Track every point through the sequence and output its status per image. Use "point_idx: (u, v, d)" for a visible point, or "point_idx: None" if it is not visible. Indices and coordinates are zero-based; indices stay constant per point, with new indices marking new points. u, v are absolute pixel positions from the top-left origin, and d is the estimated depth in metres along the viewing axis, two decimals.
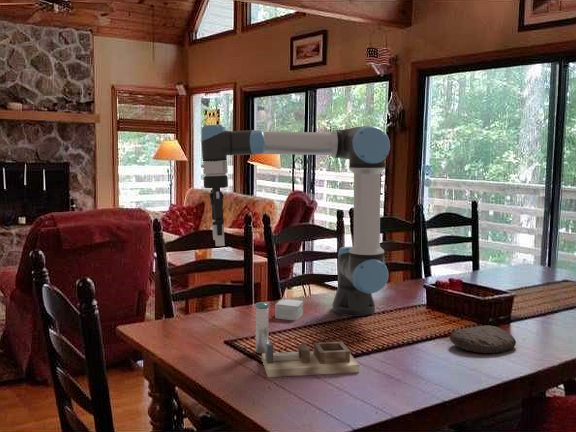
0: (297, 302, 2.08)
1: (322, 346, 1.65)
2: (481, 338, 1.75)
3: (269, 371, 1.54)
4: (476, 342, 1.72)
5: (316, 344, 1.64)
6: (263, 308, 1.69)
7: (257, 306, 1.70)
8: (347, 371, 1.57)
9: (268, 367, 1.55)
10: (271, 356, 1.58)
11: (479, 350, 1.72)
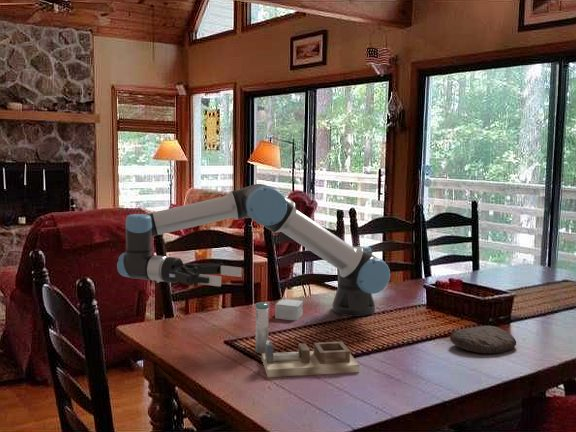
0: (297, 302, 2.08)
1: (322, 346, 1.65)
2: (481, 338, 1.75)
3: (269, 371, 1.54)
4: (476, 342, 1.72)
5: (316, 344, 1.64)
6: (263, 308, 1.69)
7: (257, 306, 1.70)
8: (347, 371, 1.57)
9: (268, 367, 1.55)
10: (271, 356, 1.58)
11: (479, 350, 1.72)
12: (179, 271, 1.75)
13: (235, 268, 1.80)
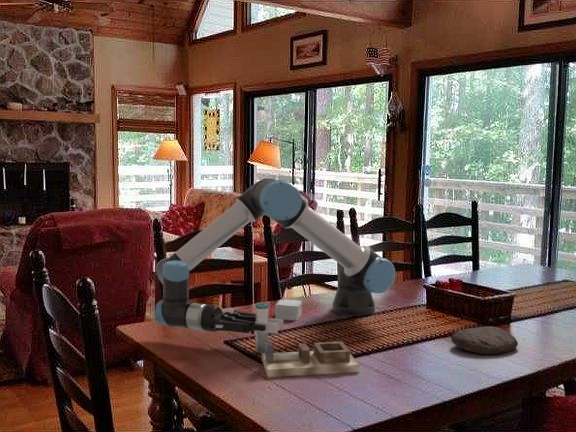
0: (296, 302, 2.08)
1: (322, 346, 1.65)
2: (482, 339, 1.74)
3: (269, 371, 1.54)
4: (477, 343, 1.72)
5: (316, 344, 1.64)
6: (263, 308, 1.69)
7: (257, 306, 1.70)
8: (347, 371, 1.57)
9: (268, 367, 1.55)
10: (271, 356, 1.58)
11: (480, 351, 1.71)
12: (221, 320, 1.72)
13: (276, 320, 1.72)
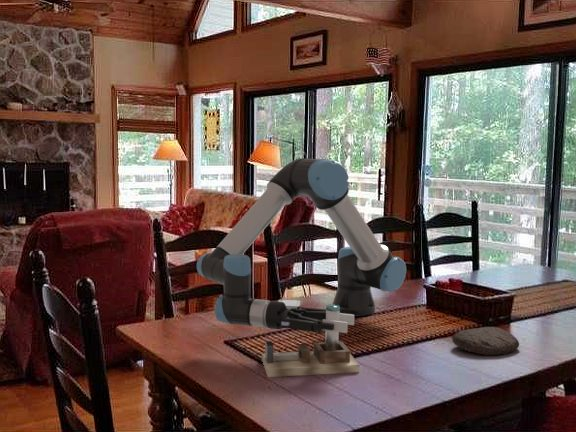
0: (296, 302, 2.08)
1: (322, 346, 1.65)
2: (484, 339, 1.73)
3: (269, 371, 1.54)
4: (478, 343, 1.71)
5: (316, 344, 1.64)
6: (335, 310, 1.60)
7: (328, 308, 1.60)
8: (347, 371, 1.57)
9: (268, 367, 1.55)
10: (271, 356, 1.58)
11: (481, 352, 1.70)
12: (288, 317, 1.62)
13: (347, 315, 1.63)
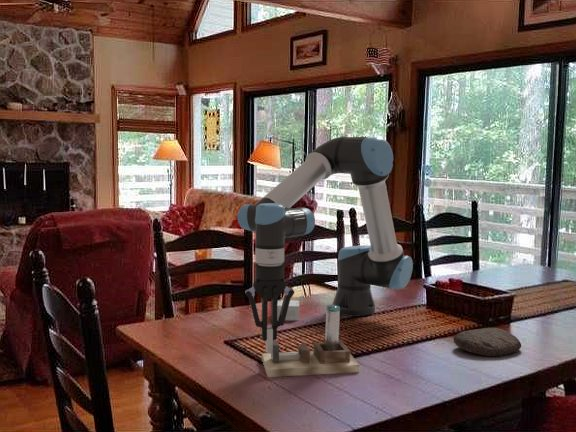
0: (295, 302, 2.07)
1: (322, 346, 1.65)
2: (485, 340, 1.73)
3: (269, 371, 1.54)
4: (480, 344, 1.71)
5: (316, 344, 1.64)
6: (334, 311, 1.60)
7: (328, 308, 1.60)
8: (347, 371, 1.57)
9: (268, 367, 1.55)
10: (277, 356, 1.58)
11: (482, 353, 1.70)
12: None
13: None
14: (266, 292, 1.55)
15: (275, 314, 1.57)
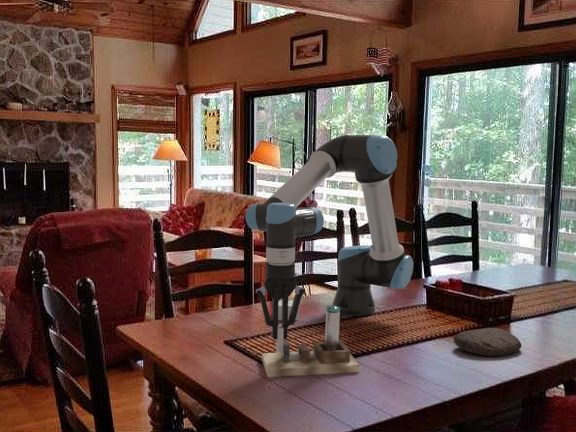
0: None
1: (322, 346, 1.65)
2: (485, 340, 1.73)
3: (269, 371, 1.54)
4: (480, 344, 1.70)
5: (316, 344, 1.64)
6: (334, 312, 1.59)
7: (328, 310, 1.59)
8: (347, 371, 1.57)
9: (268, 367, 1.55)
10: (287, 355, 1.58)
11: (482, 353, 1.70)
12: None
13: None
14: (277, 291, 1.56)
15: (286, 313, 1.57)
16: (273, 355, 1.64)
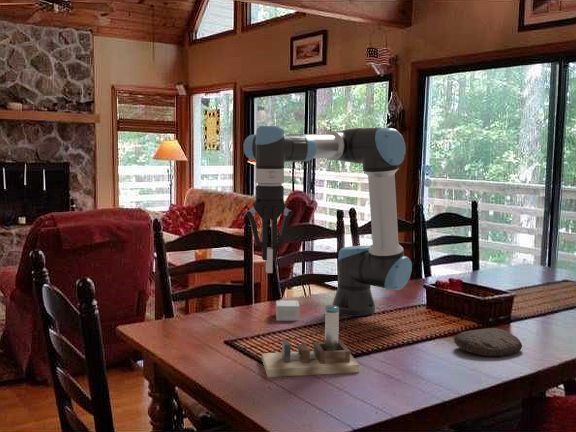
0: (294, 302, 2.07)
1: (322, 346, 1.65)
2: (486, 341, 1.72)
3: (269, 371, 1.54)
4: (480, 345, 1.70)
5: (316, 344, 1.64)
6: (333, 312, 1.59)
7: (327, 309, 1.59)
8: (347, 371, 1.57)
9: (268, 367, 1.55)
10: (288, 355, 1.58)
11: (482, 353, 1.69)
12: None
13: None
14: (266, 212, 1.60)
15: (275, 234, 1.62)
16: (273, 355, 1.64)
